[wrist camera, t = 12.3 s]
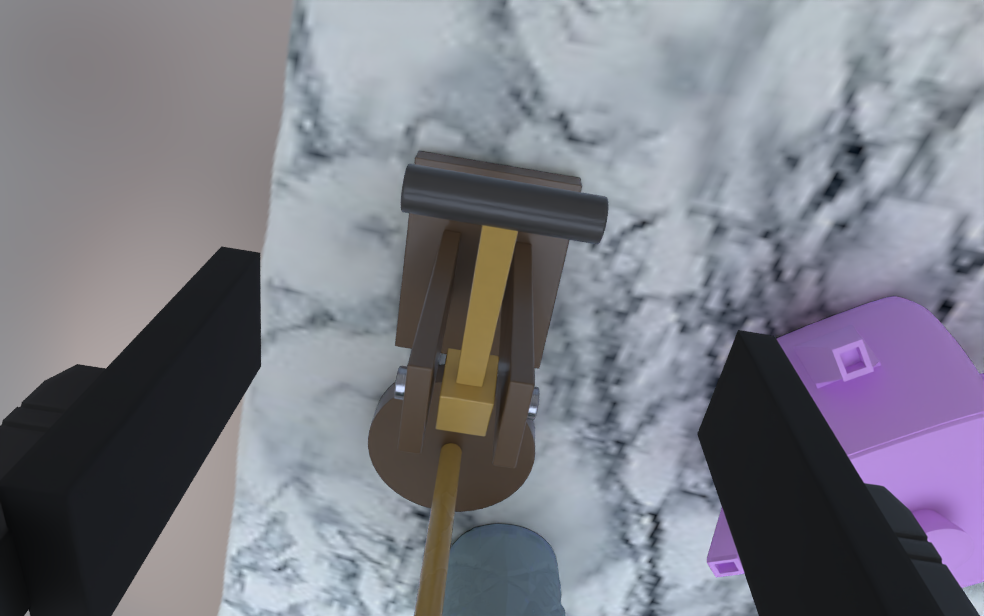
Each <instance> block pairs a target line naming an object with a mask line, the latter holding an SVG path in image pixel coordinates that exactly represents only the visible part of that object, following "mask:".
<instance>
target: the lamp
mask: <svg viewBox="0 0 984 616" xmlns="http://www.w3.org/2000/svg"><path fill="white" fill-rule="evenodd" d="M444 367H445V365H438V370H437V375H436V380H435V385H434V390H433V395H432V400H431V405H430V411H429V416H428V421H427V426H426V431H425V436H424V441H423V446H422V451H421V453H420V454H415V453H408V452H402V451H398V440H399V432H400V423H401V415H402V407H403V400H400V399H395V398H394V390H395V383H396V382H395V383H394V384H393V385H391V386H390V387H389V388H388V389H387V391H386V392H385V393H384V394H383V396H382V397H381V399H380V401H379V403H378V405H377V408H376V411H375V414H374V417H373V420H372V424H371V427H370V430H369V436H368V449H369V455H370V458H371V461H372V464H373V466H374V468H375V469H376V471H377V473H378V474H379V476H380V477H381V478H382V480H383V481H384V482H385V483H386V484H387V485H388V486H389V487H390V488H391V489H393V490H394V491H395V492H396V493H398V494H399V495H401V496H402V497H404V498H406V499H408V500H409V501H411V502H414V503H416V504H418V505H421V506H424V507H427V508H431V513H430V519H429V525H428V531H427V538H426V544H425V550H424V556H423V563H422V569H421V575H420V581H419V587H418V594H417V600H416V606H415V612H414V616H442V613H443V605H444V597H445V588H446V580H447V572H448V564H449V555H450V547H451V539H452V530H453V522H454V514H455V512H463V511H473V510H478V509H483V508H486V507H489V506H492V505H494V504H497V503H499V502H501V501H503V500H504V499H506V498H508V497H509V496H511V495H512V494H513V493H514V492H516V491H517V490H518V489H519V488H520V487H521V486H522V484H523V483H524V482H525V480H526V479H527V477H528V476H529V474H530V472H531V469H532V466H533V463H534V458H535V427H534V421H533V420H529V419H527V421H526V425H525V429H524V434H523V438H522V442H521V446H520V451H519V455H518V459H517V464H516V467H515V468H508V467H501V466H494V465H493V463H492V460H493V443H494V427H495V410H496V394H497V383H496V392H495V401H494V406H493V410H492V414H491V418H490V422H489V425H488V429H487V433H486V436H478V435H471V434H465V433H458V432H452V431H445V430H439V429H436V428H435V426H436V418H437V411H438V404H439V397H440V391H441V385H442V379H443V373H444ZM497 378H498V377H497Z"/></svg>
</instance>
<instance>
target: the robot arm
mask: <svg viewBox="0 0 984 616" xmlns="http://www.w3.org/2000/svg"><path fill="white" fill-rule="evenodd" d="M260 367H261V303H260V253H258V252H252V251H246V250H239V249H233V248H227V247H221V248H220V249H219V250H218V251H217V252H216V253H215V254H214V255H213V256H212V257H211V258H210V259H209V260H208V261H207V263H206V264H205V265H204V266H203V267H202V268H201V269H200V270H199V271H198V272H197V273H196V274H195V275H194V276H193V277H192V278H191V280H189V281H188V282H187V284H186V285H185V286H184V287H183V288H182V289H181V290H180V291H179V292H178V293H177V294H176V295H175V296H174V297H173V298H172V299H171V300H170V302H169V303H168V304H167V305H166V306H165V307H164V308H163V309H162V310H161V311H160V312H159V313H158V314H157V315H156V316H155V317H154V319H153V320H152V321H151V322H150V323H149V324H148V325H147V326H146V327H145V328H144V329H143V330H142V331H141V332H140V333H139V334H138V335H137V336H136V338H134V340H133V341H132V342H131V343H130V344H129V345H128V346H127V347H126V348H125V349H124V350H123V351H122V352H121V353H120V355H118V357H117V358H116V359H115V360H114V361H113V362H112V363H111V364H110V365H109V366H108V367H107V368H106V369H105V368H98V367H92V366H85V365H78V364H77V365H75V366H73V367H71V368H69V369H67V370H65V371H63V372H61V373H59V374H57V375H55V376H53V377H51V378H49V379H47V380H45V381H44V382H43V383H42V384H41V385H40V386H39V387H38V388H36V390H34V391H33V392H32V393H31V394H30V395H29V396H28V397H27V398H26V399H25V400H24V401H23V402H22V404H21V407H17V408H15V409H14V410H13V411H12V412H11V413H10V414H9V415H8V416H7V417H6V418H5V419H4V420H3V422H2V425H1V426H0V616H24V615H25V614H26V612H27V611H28V610H29V612H30V616H111V615H112V614H113V612H114V611H115V609H116V607H117V606H118V604H119V602H120V601H121V599H122V597H123V596H124V594H125V592H126V591H127V589H128V587H129V586H130V584H131V582H132V580H133V579H134V577H135V575H136V574H137V572H138V570H139V569H140V567H141V565H142V564H143V562H144V561H145V559H146V557H147V555H148V554H149V552H150V550H151V549H152V547H153V546H154V544H155V542H156V541H157V539H158V537H159V535H160V534H161V532H162V530H163V529H164V527H165V526H166V524H167V522H168V521H169V519H170V517H171V515H172V514H173V512H174V510H175V509H176V507H177V506H178V504H179V502H180V501H181V499H182V497H183V496H184V494H185V492H186V490H187V489H188V487H189V486H190V484H191V482H192V481H193V478H194V477H195V476H196V474H197V472H198V470H199V469H200V467H201V465H202V464H203V462H204V460H205V459H206V457H207V455H208V454H209V452H210V450H211V449H212V447H213V445H214V444H215V442H216V440H217V439H218V437H219V435H220V434H221V432H222V430H223V429H224V427H225V425H226V424H227V422H228V420H229V419H230V417H231V415H232V414H233V412H234V410H235V409H236V407H237V405H238V404H239V402H240V400H241V399H242V397H243V395H244V394H245V392H246V390H247V389H248V387H249V385H250V384H251V382H252V380H253V379H254V377H255V375H256V374H257V372H258V370H259V369H260ZM698 437H699V440H700V443H701V446H702V449H703V452H704V455H705V458H706V461H707V464H708V467H709V470H710V473H711V476H712V479H713V482H714V485H715V488H716V490H717V493H718V496H719V499H720V502H721V505H722V508H723V511H724V514H725V517H726V520H727V523H728V526H729V529H730V532H731V535H732V538H733V541H734V544H735V546H736V549H737V552H738V555H739V558H740V561H741V564H742V567H743V570H744V573H745V576H746V579H747V582H748V585H749V588H750V591H751V594H752V597H753V600H754V603H755V605H756V608H757V611H758V614H759V616H980V615H979V614H978V612H977V611H976V609H975V608H974V606H973V605H972V603H971V602H970V600H969V599H968V597H967V596H966V594H965V593H964V591H963V590H962V588H961V586H960V585H959V583H958V582H957V580H956V579H955V577H954V576H953V574H952V573H951V571H950V570H949V568H948V567H947V565H945V564H942V558H941V556H940V555H939V553H938V552H937V550H936V549H935V547H934V546H933V544H932V542H928V540H927V538H928V536H927V535H926V533H925V532H924V530H923V529H922V527H921V526H920V524H919V523H918V521H917V520H916V518H915V517H914V515H913V514H912V512H911V511H910V510H909V509H908V508H907V507H906V506H905V505H904V504H903V503H902V502H901V501H899V500H898V499H897V498H896V497H895V496H894V495H893V494H892V493H891V492H890V491H889V490H887V489H886V488H885V487H884V486H880V485H874V484H867V483H864V482H863V480H862V479H861V477H860V475H859V474H858V472H857V471H856V469H855V467H854V466H853V464H852V462H851V461H850V459H849V457H848V456H847V454H846V452H845V451H844V449H843V448H842V446H841V444H840V443H839V441H838V439H837V438H836V436H835V434H834V433H833V431H832V429H831V428H830V426H829V425H828V423H827V421H826V420H825V418H824V416H823V415H822V413H821V411H820V410H819V408H818V406H817V405H816V403H815V402H814V400H813V398H812V397H811V395H810V393H809V392H808V390H807V388H806V387H805V385H804V383H803V382H802V380H801V379H800V377H799V375H798V374H797V372H796V370H795V369H794V367H793V365H792V364H791V362H790V360H789V359H788V357H787V356H786V354H785V352H784V351H783V349H782V347H781V346H780V344H779V342H778V341H777V339H776V337H775V336H771V335H765V334H759V333H753V332H747V331H740V330H738V332H737V335H736V337H735V340H734V342H733V345H732V347H731V350H730V352H729V355H728V358H727V360H726V363H725V365H724V368H723V370H722V373H721V375H720V378H719V380H718V383H717V385H716V388H715V390H714V393H713V396H712V398H711V401H710V403H709V406H708V408H707V411H706V413H705V416H704V418H703V421H702V423H701V426H700V428H699V431H698Z"/></svg>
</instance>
